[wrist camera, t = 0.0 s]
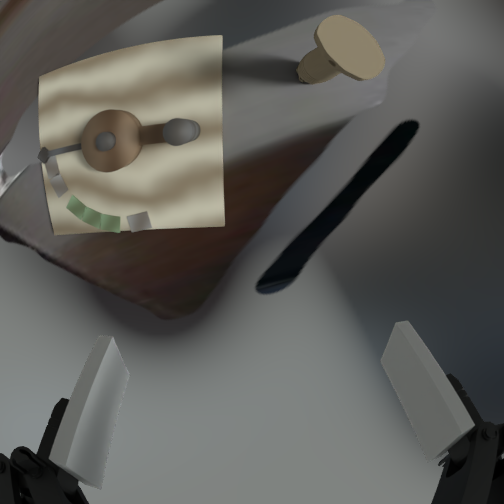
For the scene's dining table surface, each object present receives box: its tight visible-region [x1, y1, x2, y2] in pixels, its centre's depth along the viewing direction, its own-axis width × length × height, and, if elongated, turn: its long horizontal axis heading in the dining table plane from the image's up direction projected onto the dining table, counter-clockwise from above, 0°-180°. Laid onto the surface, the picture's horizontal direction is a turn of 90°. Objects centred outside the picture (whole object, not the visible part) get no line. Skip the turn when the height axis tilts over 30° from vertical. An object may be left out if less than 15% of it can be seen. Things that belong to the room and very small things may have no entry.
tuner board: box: [39, 35, 225, 235], centre depth 31 cm, size 26×28×1 cm
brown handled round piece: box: [38, 109, 201, 173], centre depth 27 cm, size 25×8×8 cm, turn 90°
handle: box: [296, 15, 385, 84], centre depth 23 cm, size 5×6×15 cm
